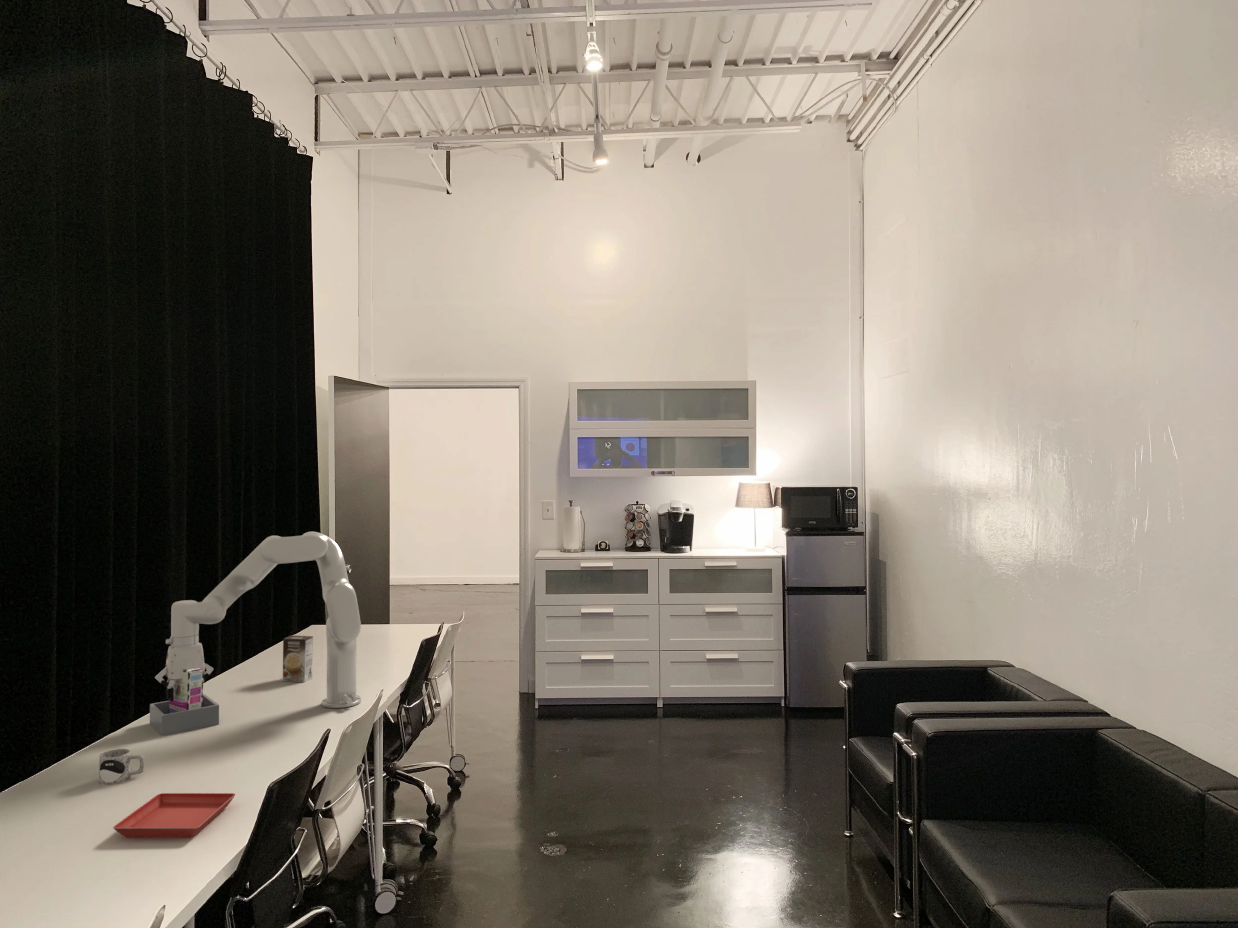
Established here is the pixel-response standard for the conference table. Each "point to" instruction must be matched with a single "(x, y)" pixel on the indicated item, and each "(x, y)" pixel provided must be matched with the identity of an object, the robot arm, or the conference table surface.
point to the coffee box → (297, 658)
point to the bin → (183, 717)
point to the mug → (117, 766)
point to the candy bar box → (188, 691)
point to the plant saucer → (174, 815)
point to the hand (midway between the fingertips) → (184, 697)
